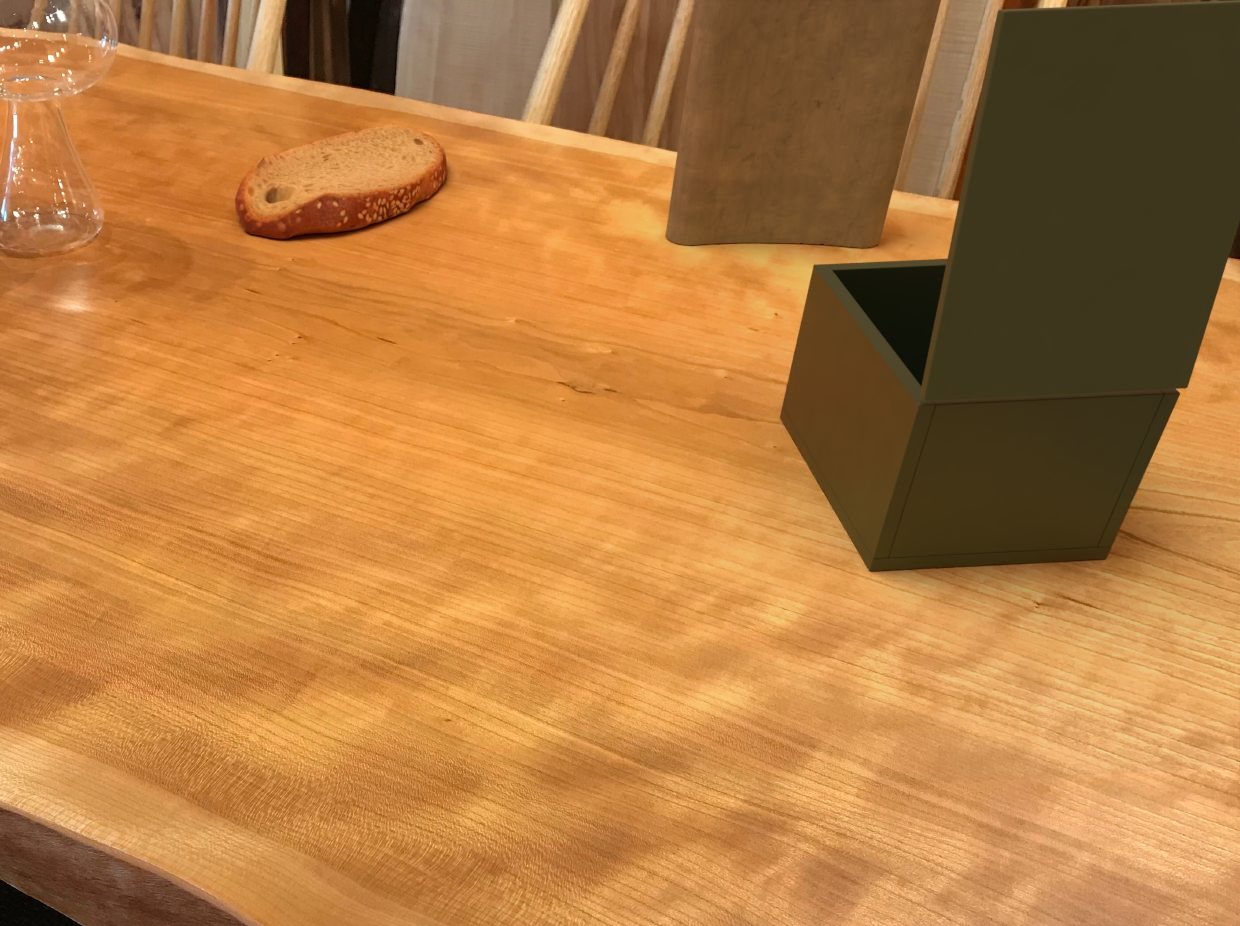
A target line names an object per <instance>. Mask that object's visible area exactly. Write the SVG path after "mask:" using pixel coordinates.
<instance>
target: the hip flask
mask: <svg viewBox="0 0 1240 926" xmlns="http://www.w3.org/2000/svg"><path fill="white" fill-rule="evenodd" d="M941 2H942V0H698V3H697V10H696V17H695V23H694V33H693V37H692V45H691V52H690V53H691V54H690V60H689V66H688V73H687V79H686V86H685V87H686V88H685V94H684V95H685V96H684V101H683V110H682V114H681V115H682V116H681V124H680V130H679V138H678V145H677V152H676V158H675V164H674V165H675V166H674V172H673V178H672V179H673V180H672V186H671V194H670V203H669V207H668V208H669V209H668V213H667V215H668V216H667V223H666V230H665V238H666V239H667V240H668V241H670V243H675V244H677V245H682V246H699V245H700V246H701V245H714V244H716V245H717V244H748V243H749V244H751V243H752V244H758V243H760V244H762V243H763V244H800V243H803V245H820V244H824V245H823V246H835V247H836V246H837V247H846V248H858V249H867V248H868V247H869V248H874V247H876V246H877V244H878V245H879V244H880V243H881V238H882V235H883V230H884V226H885V223H886V219H887V215H888V211H889V208H890V204H891V199H892V195H893V192H894V187H895V183H896V179H897V176H898V171H899V168H900V164H901V161H902V160H901V159H902V156H903V152H904V148H905V144H906V140H907V137H908V132H909V128H910V124H911V120H912V116H913V112H914V110H915V109H914V108H915V104H916V101H917V98H918V97H917V96H918V92H919V89H920V84H921V81H922V77H923V73H924V70H925V66H926V61H927V57H928V53H929V49H930V45H931V42H932V38H933V34H934V29H935V25H936V21H937V19H938V14H939V10H940V6H941Z"/></svg>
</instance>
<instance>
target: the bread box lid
mask: <svg viewBox="0 0 1240 926" xmlns="http://www.w3.org/2000/svg"><path fill="white" fill-rule="evenodd" d="M995 18H996V19H995V23H994V28H993V34H992V38H991V43H990V47H989V53H988V57H987V62H986V67H985V72H984V77H983V82H982V87H981V92H980V96H979V100H978V101H979V102H978V107H977V111H976V115H975V121H974V125H973V130H972V136H971V141H970V144H969V145H970V146H969V149H968V150H969V151H968V156H967V159H966V160H967V162H966V165H965V171H964V174H963V180H962V186H961V190H960V195H959V200H958V205H957V210H956V215H955V220H954V224H953V230H952V235H951V239H950V244H949V250H948V253H947V258H946V259H947V263H946V268H945V273H944V278H943V283H942V288H941V293H940V298H939V303H938V308H937V313H936V317H935V322H934V327H933V332H932V337H931V342H930V347H929V352H928V357H927V362H926V367H925V372H924V376H923V381H922V386H921V391H920V398H922V399H923V400H924V401H929V400H950V399H971V398H992V397H1013V396H1034V395H1055V394H1076V393H1097V392H1118V391H1139V390H1160V389H1176V390H1180V389H1188V388H1189V384H1190V382H1191V378H1192V375H1193V373H1194V368H1195V365H1196V363H1197V359H1198V355H1199V352H1200V350H1201V346H1202V343H1203V340H1204V338H1205V337H1204V336H1205V333H1206V331H1207V327H1208V324H1209V321H1210V318H1211V314H1212V311H1213V308H1214V305H1215V304H1214V303H1215V301H1216V298H1217V295H1218V292H1219V288H1220V285H1221V284H1222V283H1221V282H1222V280H1223V276H1224V273H1225V271H1226V267H1227V263H1228V260H1229V257H1230V254H1231V250H1232V247H1233V244H1234V242H1235V241H1234V240H1235V238H1236V235H1237V231H1238V228H1239V225H1240V0H1213V1H1212V0H1211V1H1187V2H1159V3H1158V2H1157V3H1156V2H1155V3H1135V4H1134V3H1133V4H1132V3H1131V4H1110V5H1108V4H1107V5H1084V6H1059V7H1058V6H1057V7H1056V6H1055V7H1035V8H1034V7H1033V8H1032V7H1031V8H1009V9H1006V8H1005V9H1004V8H1003V9H998V10H997V13H996V17H995Z"/></svg>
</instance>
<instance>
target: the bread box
mask: <svg viewBox="0 0 1240 926" xmlns="http://www.w3.org/2000/svg"><path fill="white" fill-rule="evenodd" d="M946 263H947V258H935V259H934V258H932V259H931V258H930V259H929V258H928V259H912V260H911V259H909V260H889V261H888V260H887V261H865V262H844V263H843V262H842V263H840V262H839V263H822V264H821V263H820V264H813V266H812V271H811V275H810V280H809V284H808V289H807V294H806V297H805V302H804V307H803V311H802V315H801V321H800V324H799V329H798V332H797V333H798V334H797V338H796V342H795V347H794V352H793V357H792V361H791V366H790V370H789V373H788V379H787V383H786V388H785V392H784V397H783V401H782V406H781V411H780V415H779V418H780V420H781V422H782V424H783V425H784V428H785V429H786V430H787V432H788V434H789V435H790V437H791V438H792V440H793V442H794V443H795V445H796V448H797V449H798V450H799V453H800V454H801V456H802V457H803V459H804V461H805V463H806V465H807V466H808V468H809V469H810V471H811V473H812V475H813V476H814V479H815V480H816V481H817V483H818V485H819V487H820V488H821V490H822V493H823V494H824V495H825V498H826V499H827V500H828V502H829V505H830V506H831V507H832V509H833V511H834V513H835V514H836V516H837V518H838V519H839V521H840V522H841V524H842V526H843V528H844V529H845V532H846V533H847V535H848V536H849V538H850V540H851V541H852V543H853V545H854V547H855V549H856V550H857V552H858V554H859V555H860V557H861V559H862V560H863V562H864V564H865V566H866V567H867V569H868V571H869V572H876V571H878V572H879V571H896V570H898V571H899V570H917V569H918V570H919V569H936V568H939V569H940V568H955V567H957V568H958V567H972V566H973V567H975V566H993V565H994V566H996V565H1014V564H1015V565H1016V564H1035V563H1036V564H1037V563H1054V562H1055V563H1056V562H1070V561H1073V562H1074V561H1075V562H1076V561H1091V560H1092V561H1095V560H1106V559H1108V556H1109V555H1110V552H1111V551H1112V550H1111V549H1112V547H1113V545H1114V543H1115V541H1116V539H1117V537H1118V534H1119V532H1120V531H1121V528H1122V525H1123V523H1124V521H1125V519H1126V517H1127V514H1128V512H1129V509H1130V507H1131V505H1132V503H1133V501H1134V498H1135V496H1136V494H1137V492H1138V490H1139V487H1140V485H1141V482H1142V480H1143V479H1144V476H1145V474H1146V471H1147V469H1148V467H1149V465H1150V463H1151V460H1152V458H1153V456H1154V454H1155V452H1156V449H1157V447H1158V445H1159V443H1160V441H1161V438H1162V436H1163V433H1164V432H1165V429H1166V426H1167V425H1168V422H1169V420H1170V418H1171V415H1172V414H1173V411H1174V410H1175V407H1176V405H1177V402H1178V400H1179V398H1180V396H1181V392H1180V391H1179V389H1160V390H1139V391H1118V392H1097V393H1076V394H1055V395H1034V396H1013V397H992V398H971V399H950V400H929V401H924V400H923V399H922V398H920V391H921V386H922V381H923V376H924V372H925V367H926V362H927V357H928V352H929V347H930V342H931V337H932V332H933V327H934V322H935V317H936V313H937V308H938V303H939V298H940V293H941V288H942V283H943V278H944V273H945V268H946Z"/></svg>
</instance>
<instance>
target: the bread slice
mask: <svg viewBox="0 0 1240 926" xmlns="http://www.w3.org/2000/svg"><path fill="white" fill-rule="evenodd" d="M447 166H448V165H447V156H446V152H445V149H444V147H443V146H442V145H441V143H440V142H439V141H437V139H435V138H434V137H433V136H431V134H428V133H427V132H423V131H422V130H419V129H417V128H415V127H414V126H413V127H412V126H406V125H401V124H396V123H392V124H386V125H385V124H384V125H379V126H375V127H372V126H371V127H365V128H361V129H360V130H353V131H350V130H349V131H348V132H345V133H339V134H335V135H332V136H329V137H324V138H322V139H317V140H314V141H313V142H311V143H305V144H303V145H301V146H298V147H293V148H290V149H287V150H286V151H282V152H279V153H276V154H270V155H268V156H263V157H261V158H260V159H259V160H258V161H257V162H256V163H255V164H254V165H253V166H252V167H251V168H250V169H249V170H247V173H246V174H245V176H243V179H242V180H241V182H240V184H239V186H238V188H237V190H236V193H235V196H234V208H235V212H236V214H237V216H238V218H239V221H240V222H241V226H242V228H243V230H244V231H246V232H247V233H248V234H251V235H258V236H263V237H268V238H272V239H290V238H292V237H295V236H301V235H311V234H327V233H328V234H330V233H331V234H332V233H340V232H347V231H354V230H359V229H362V228H365V227H367V226H369V225H372V224H378V223H381V222H383V221H386V220H388V219H391V218H394V217H396V216H398V215H401V214H404V213H407V212H409V211H410V210H411V208H412V207H413V206H415V205H416V204H418V203H420V202H422V201H425V200H428V199H429V198H430V197H432V196H433V195H434V194H435V193H436V192H437V191H439V188H440V187H441V185H442V184H443V183H444V182H445V179H446V178H447V172H448V171H447V170H448V167H447Z"/></svg>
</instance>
